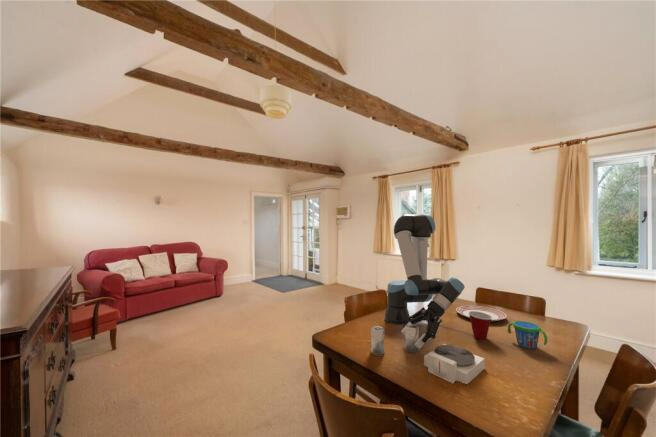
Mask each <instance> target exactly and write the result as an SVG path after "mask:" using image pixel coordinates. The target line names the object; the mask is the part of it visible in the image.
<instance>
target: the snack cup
mask: <svg viewBox="0 0 656 437" xmlns="http://www.w3.org/2000/svg"><path fill="white" fill-rule="evenodd" d="M511 326H513V328H514V332H515V338H516V343H517V345H519V346H520V347H521V348H525V349H529V350H531V349H532V350H534V349H537V348H538V342H539V336H540V333H541V334H542V335H543V338H544V340H543V345H544V346H546V345H547V344H548V336H547V334H546V332H545V331H544V330H543V329H542V328H541V327H540V325H538V324H536V323H533V322H531V321H525V320H524V321H523V320H515V321H513V322H511V323H509V324H508V327H507V333H508V334H512V330H511Z"/></svg>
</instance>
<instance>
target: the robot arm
mask: <svg viewBox="0 0 656 437" xmlns="http://www.w3.org/2000/svg"><path fill="white" fill-rule="evenodd" d="M435 231H436V223H435V218H434V217H433V216H432V215H430V214H426V213H423V214H408V213H407V214H406V213H405V214H402V215H401V216H399V217H398V219H397V220H396V221H395V223H394V225H393V234H394V238H395V239H396V240H397V244H398V249H399V251H400V256H401V260H402V263H403V267H404V270H405V271H404V272H405V276H406V280H399V279H397V280H392V281H390V282H388V284H387V290H386V291H387V307H386V310H385V314H384V320H385V321H386V322H387V323H389V324H394V325H400V326H401V325H407V324H413V325H416V324H417V323H420V322H424V321H426V322H427V324H426V330H425V331H424V333H422V335H421V336H419V340H418V341H417V342H416V343H415V345H416V346H417V347H418V348H419V350H421V348H422V347H423V346H424V344H426V342H428V341H429V340H430V339H431V338H432V339H433V340H434V339H435V338H436V337H437V336H436V335H437V333H438V330H439V327H440V325H441V324H442V322H443V320H442V316H443V315H444V314H445V313H446V311H447V310H448V309H449V308H450V306H451V305H452V304H453V303H454V302H455V301H456V300H457V299H458V297H459V296H460V295H461V294H462V292H463V291H464V290H465V284H464V283H463V282H462V281H461V280H460V279H458V278H456V277H452V276H451V277H449V279H448V280H445V279H442V278H438V277H433V278H432V279H428V277H427V276H428V274H427V273H428V251H429V250H428V249H429V248H428V247H429V239H431V237H432V234H434V233H435ZM433 296H434V297H433ZM427 302H428V303H427ZM410 303H427V305H426V306H427V308H425V307H424V306H422V307H421V308H420V309H419V310H418V311H416V312H415V313H413V314H411V315H410V312H409V309H408V304H410ZM400 332H401V333H402V335H404V336H405V327H403V328H402V330H401V331H400Z"/></svg>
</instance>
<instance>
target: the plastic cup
mask: <svg viewBox="0 0 656 437" xmlns="http://www.w3.org/2000/svg"><path fill="white" fill-rule="evenodd" d="M469 315H470V318H469V319H470V324H471V325H470V326H471V329H472V334H473V337H474V338H475V339H477V340H484V341H485V340H486V339H487V338H488V333H489V329H490V323H491V322H490V321H491V319H492V316H490V315H488V314H486V313H482V312H477V311H470V312H469Z"/></svg>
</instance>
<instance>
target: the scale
mask: <svg viewBox="0 0 656 437" xmlns="http://www.w3.org/2000/svg"><path fill="white" fill-rule="evenodd" d="M442 345H447V344H446V343H442ZM434 350H435V348H434V349H433V350H431V351H430V352H428V353H427V354H425V355H423V360H424V361H423V366H425V367H427V371H428V373H430V374H432V375H434V376H436V377H438V378H440V379H443V380H445V381H447V382H448V383H450V384H455V383H456V382H459V381H460V382H459V383H461V382H462V384H463V383H465V384H467V385H469V383H470V382H471V381H473V380H474V378H476V377H477V376H478V375H479V374H480V373H482V372H483V371H484V369H485V366H486V364H485V358H484V357H482V356H479V355H476V354H473V353H472V354H473V355H474V357H475V362H474V363H473V364H472V365H468V366H457V362H455V361H453V360H451V359H448V358H446V357H443V356H441V355H438V354H436V353H434ZM455 381H456V382H455ZM454 382H455V383H454ZM465 384H464V385H465Z"/></svg>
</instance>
